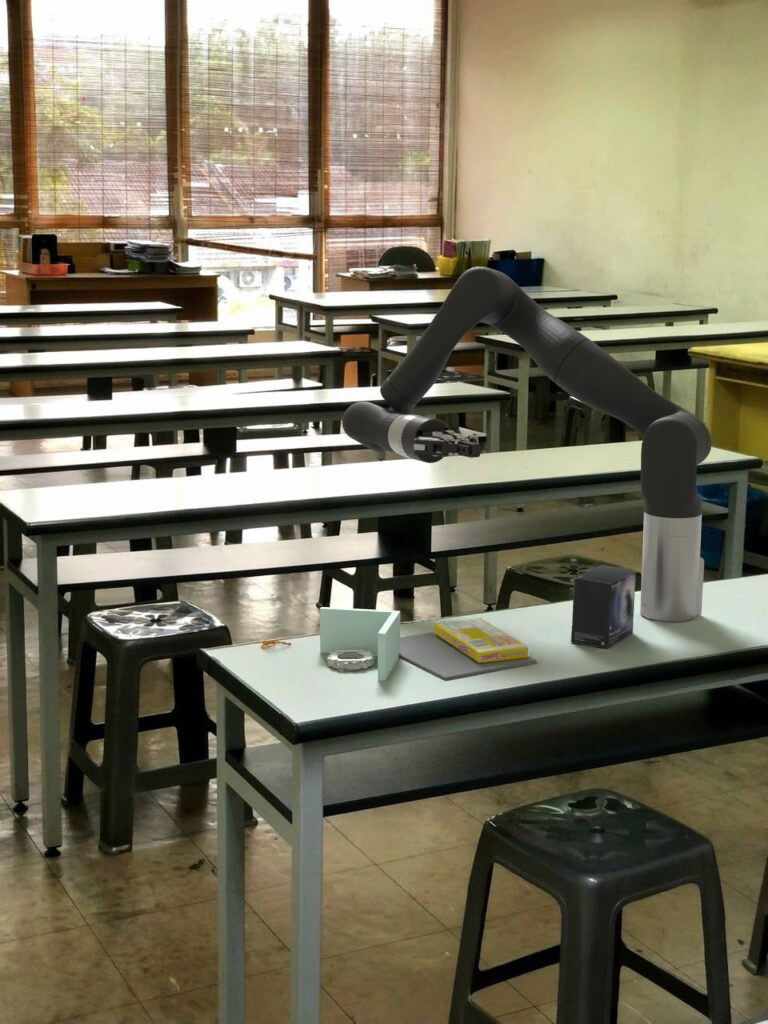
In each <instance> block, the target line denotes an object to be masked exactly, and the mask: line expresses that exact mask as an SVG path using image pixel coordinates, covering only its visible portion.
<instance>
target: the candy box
mask: <svg viewBox="0 0 768 1024" xmlns="http://www.w3.org/2000/svg"><path fill="white" fill-rule="evenodd" d="M433 632H434V634H436V635H438V636H439V637H441V638H442V639H444V640H445V641H447V642H448V643H450V644H451V645H453V646H454V647H456V648H457V649H459V650H460V651H462V652H463V653H465V654H466V655H468V656H469V657H471V658H472V659H474V660H475V661H477V662H478V663H485V662H494V661H503V660H512V659H521V658H527V657H528V656H529V646H528V645H526V644H524V642H522V641H520V640H518V639H517V638H515V637H513V636H511V635H509V634H508V633H507V632H505V631H504V630H502V629H500V628H498V627H497V626H494V625H493V624H492V623H490V622H488V621H486V620H485V619H483V618H482V617H477V618H470V619H467V618H466V619H460V620H452V621H451V620H450V621H441V622H434V623H433Z"/></svg>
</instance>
